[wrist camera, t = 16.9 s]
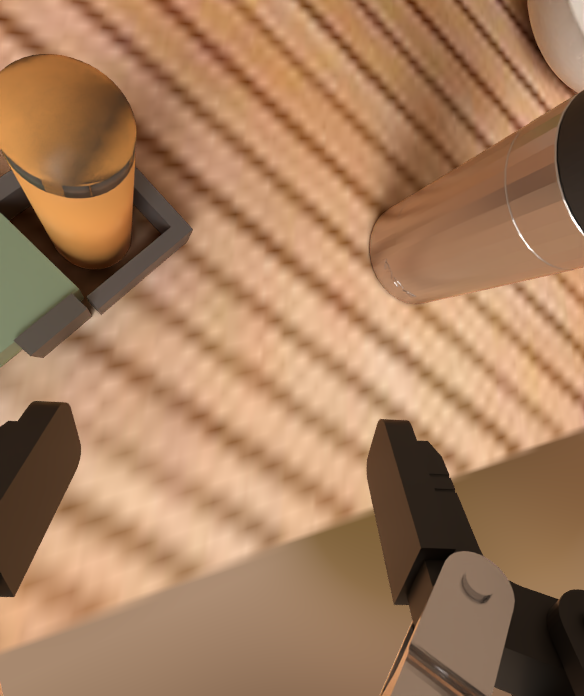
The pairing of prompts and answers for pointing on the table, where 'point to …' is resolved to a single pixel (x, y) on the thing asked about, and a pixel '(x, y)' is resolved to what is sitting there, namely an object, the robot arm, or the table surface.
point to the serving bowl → (560, 37)
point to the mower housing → (54, 287)
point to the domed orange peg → (71, 154)
